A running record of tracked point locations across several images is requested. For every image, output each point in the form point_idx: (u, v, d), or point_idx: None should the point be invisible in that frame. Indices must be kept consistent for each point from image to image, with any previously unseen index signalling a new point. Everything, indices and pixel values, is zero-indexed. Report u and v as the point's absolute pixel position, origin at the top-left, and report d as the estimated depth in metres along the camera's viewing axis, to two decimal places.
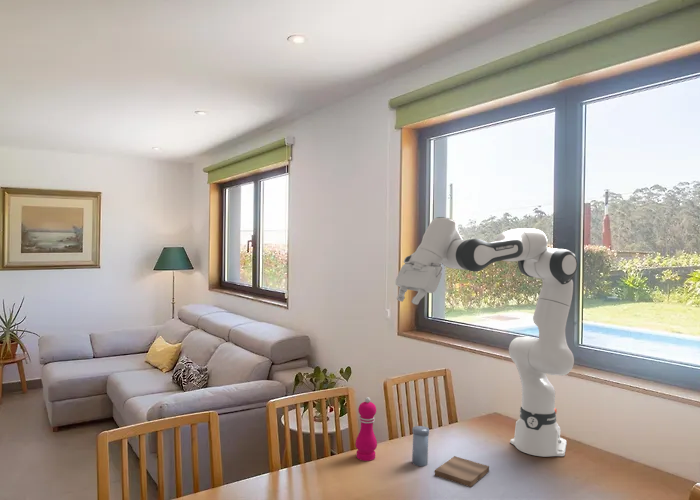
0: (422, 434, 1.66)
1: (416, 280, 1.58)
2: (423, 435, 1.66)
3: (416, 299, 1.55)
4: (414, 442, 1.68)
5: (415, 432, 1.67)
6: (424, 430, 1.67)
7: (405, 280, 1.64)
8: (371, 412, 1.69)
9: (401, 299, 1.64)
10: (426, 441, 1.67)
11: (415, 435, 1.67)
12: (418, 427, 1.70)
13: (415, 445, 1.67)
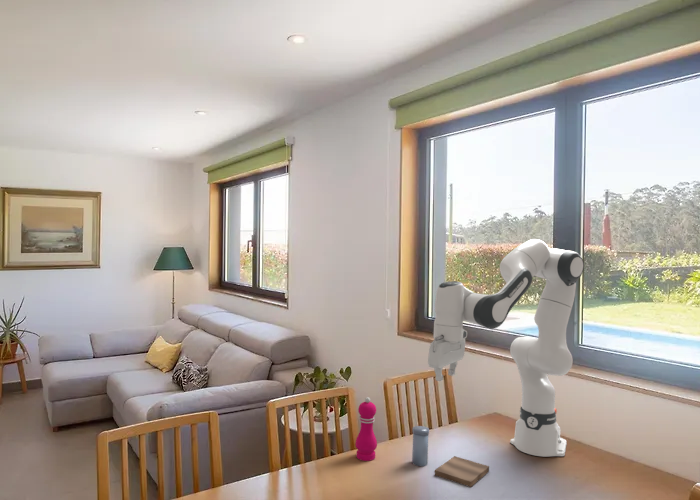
0: (422, 434, 1.66)
1: None
2: (423, 435, 1.66)
3: (437, 376, 1.56)
4: (414, 442, 1.68)
5: (415, 432, 1.67)
6: (424, 430, 1.67)
7: None
8: (371, 412, 1.69)
9: (451, 374, 1.64)
10: (426, 441, 1.67)
11: (415, 435, 1.67)
12: (418, 427, 1.70)
13: (415, 445, 1.67)
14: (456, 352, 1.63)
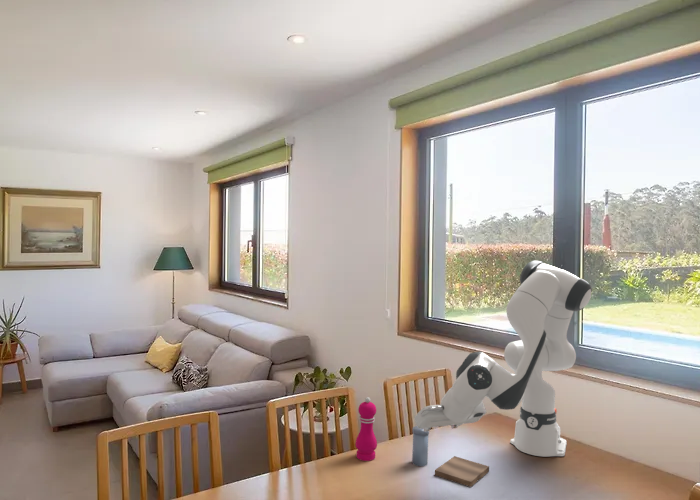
0: (422, 434, 1.66)
1: None
2: (423, 435, 1.66)
3: None
4: (414, 442, 1.68)
5: (415, 432, 1.67)
6: None
7: None
8: (371, 412, 1.69)
9: (452, 426, 1.58)
10: (426, 441, 1.67)
11: (415, 435, 1.67)
12: None
13: (415, 445, 1.67)
14: None
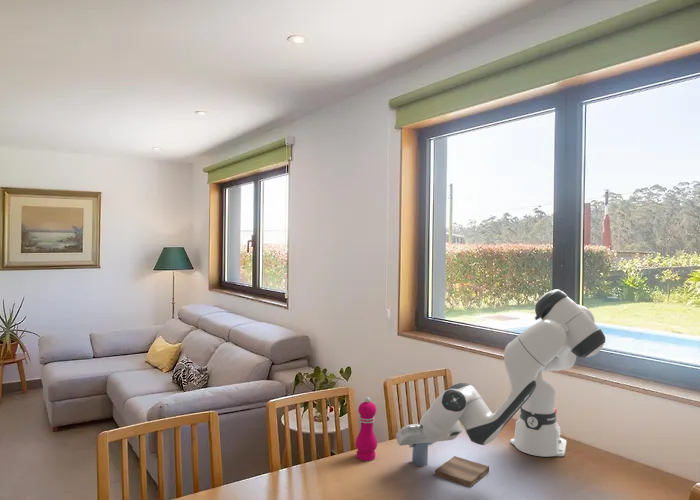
0: None
1: None
2: None
3: None
4: None
5: None
6: None
7: None
8: (371, 412, 1.69)
9: None
10: None
11: None
12: None
13: (415, 445, 1.67)
14: None
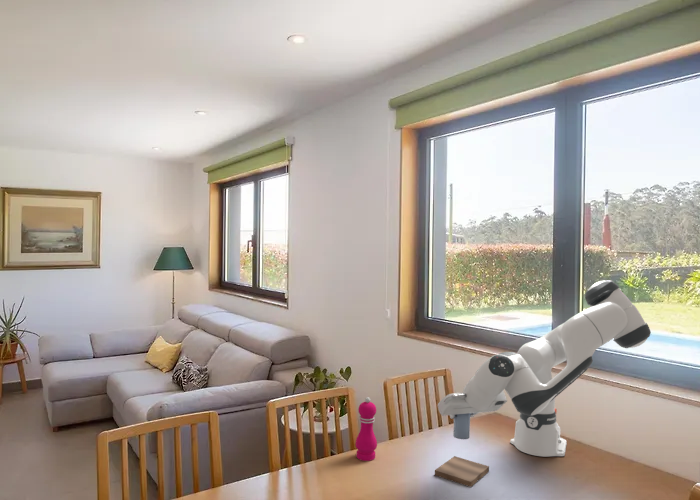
0: None
1: None
2: None
3: None
4: None
5: None
6: None
7: None
8: (371, 412, 1.69)
9: None
10: (468, 413, 1.61)
11: None
12: None
13: (456, 417, 1.61)
14: None
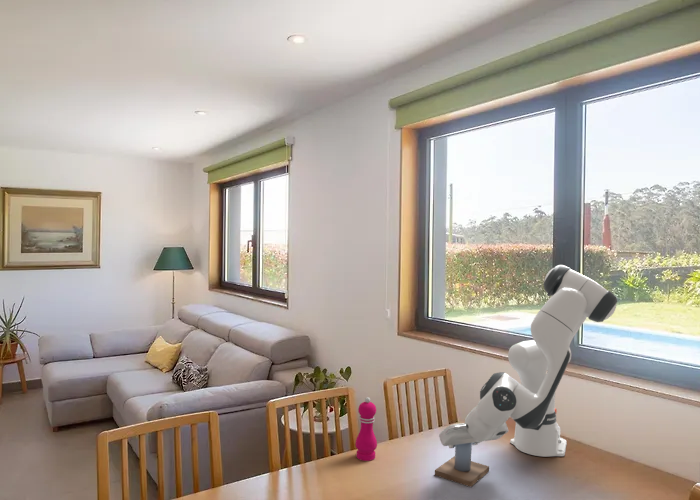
0: None
1: None
2: None
3: None
4: (457, 446, 1.61)
5: None
6: None
7: None
8: (371, 412, 1.69)
9: (472, 442, 1.63)
10: (470, 445, 1.60)
11: None
12: None
13: (458, 449, 1.60)
14: None
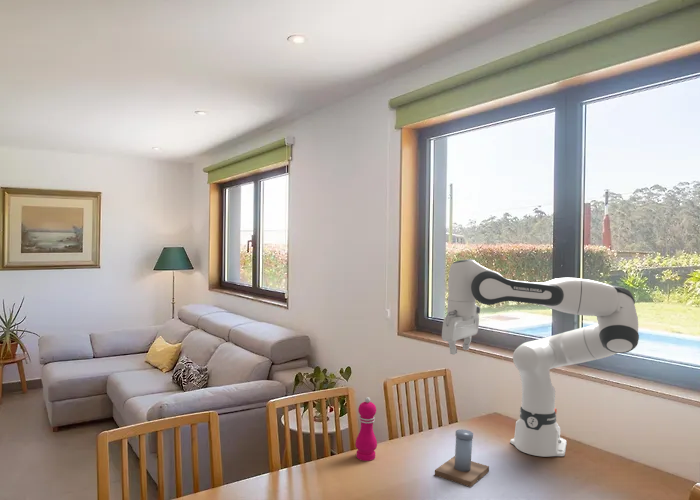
0: (467, 439, 1.59)
1: None
2: (467, 440, 1.59)
3: (451, 350, 1.63)
4: (457, 447, 1.61)
5: (459, 436, 1.60)
6: (468, 434, 1.60)
7: None
8: (371, 412, 1.69)
9: (465, 348, 1.70)
10: (470, 446, 1.60)
11: (459, 439, 1.60)
12: (461, 431, 1.63)
13: (458, 450, 1.60)
14: (470, 327, 1.69)
